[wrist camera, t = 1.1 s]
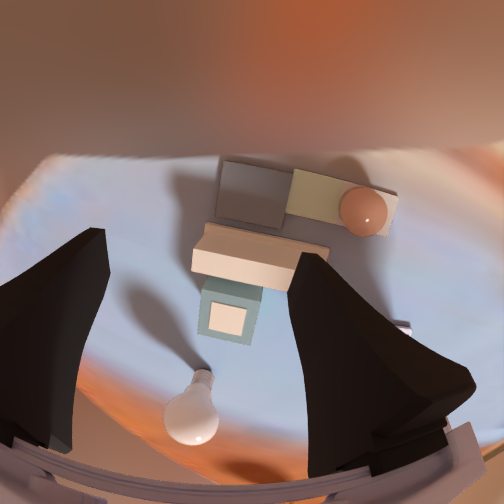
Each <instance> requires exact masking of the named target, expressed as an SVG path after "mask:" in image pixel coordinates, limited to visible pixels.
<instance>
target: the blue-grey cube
mask: <svg viewBox="0 0 504 504" xmlns="http://www.w3.org/2000/svg"><path fill="white" fill-rule="evenodd" d="M262 291H263V287H262V286H257V285H252V284H247V283H243V282H238V281H233V280H229V279H224V278H220V277H215V276H211V275H209V276H208V278H207V280H206V281H205V283H204V285H203V287H202V291H201V300H200V310H199V321H198V332H197V334H201V335H205V336H209V337H213V338H218V339H222V340H226V341H231V342H235V343H240V344H245V345H251V341H252V337H253V332H254V328H255V324H256V320H257V316H258V312H259V308H260V304H261V298H262Z"/></svg>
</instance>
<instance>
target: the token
mask: <svg viewBox="0 0 504 504" xmlns="http://www.w3.org/2000/svg"><path fill="white" fill-rule="evenodd" d="M339 215H340V218H341V220H342V221H343V223H344V224H345V226H346V227H347V229H348V230H349V231H350V232H351V233H353V234H355V235H357V236H361V237H368V236H372V235H374V234H376V233H377V232H379V231H380V230H381V229H382V228H383V226H384V224H385V223H386V220H387V215H388V210H387V205H386V203H385V201H384V199H383V198H382V197H381V196H380V195H379V194H378V193H376V192H375V191H373V190H371V189H370V188H367V187H364V186H356V187H353V188H351V189H349V190H347V191H346V192H345V193H344V194H343V196H342V197H341V199H340V202H339Z"/></svg>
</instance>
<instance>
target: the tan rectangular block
mask: <svg viewBox="0 0 504 504" xmlns="http://www.w3.org/2000/svg"><path fill="white" fill-rule="evenodd" d="M302 252H309V253H317V254H318V255H319V256H321V257H322V258H323V259H324V260H325V261H326V262H327V258H328V255H329V252H330V249H329V248H328V247H323V246H319V245H314V244H310V243H305V242H301V241H296V240H292V239H287V238H282V237H278V236H273V235H268V234H264V233H259V232H254V231H249V230H244V229H240V228H235V227H230V226H225V225H220V224H215V223H210V222H206V223H205V229H204V236H203V237H202V238H201V239H200V241H199V242H198V243H197V244H196V246H195V247H194V248H193V257H192V267H191V271H193V272H198V273H202V274H207V275H211V276H215V277H220V278H224V279H229V280H233V281H238V282H243V283H247V284H252V285H257V286H262V287H266V288H271V289H276V290H281V291H286V292H287V291H288V289H289V286H290V283H291V281H292V278H293V275H294V272H295V270H296V267H297V264H298V261H299V258H300V256H301V253H302Z"/></svg>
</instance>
